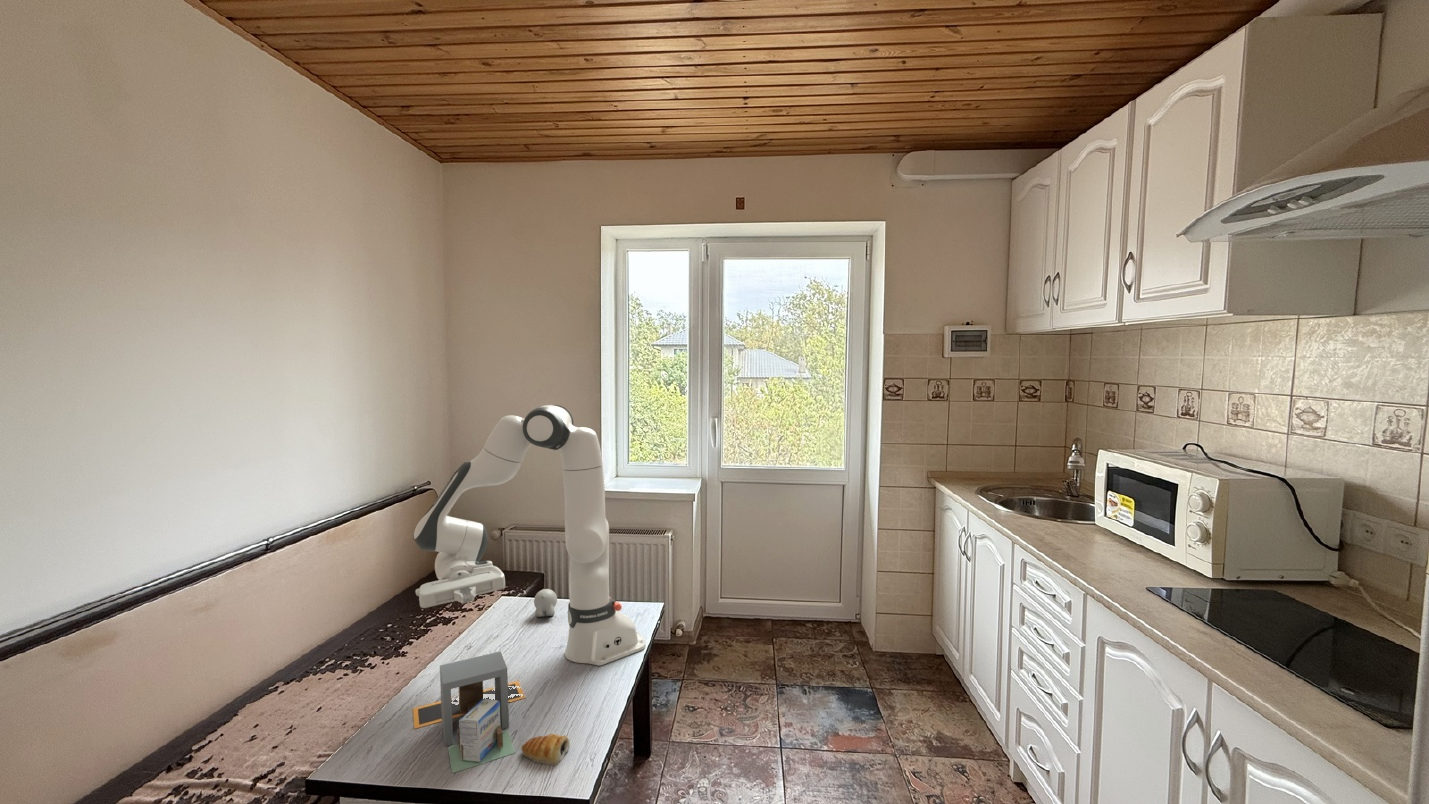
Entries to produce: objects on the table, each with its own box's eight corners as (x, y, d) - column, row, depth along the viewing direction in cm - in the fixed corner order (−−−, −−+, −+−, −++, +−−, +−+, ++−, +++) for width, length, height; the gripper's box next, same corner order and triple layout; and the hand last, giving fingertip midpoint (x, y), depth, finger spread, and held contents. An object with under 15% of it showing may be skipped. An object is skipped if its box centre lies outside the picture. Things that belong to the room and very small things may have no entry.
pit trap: (518, 681, 148) (518, 680, 148) (525, 698, 140) (525, 697, 140) (413, 708, 136) (413, 708, 136) (414, 729, 128) (414, 728, 128)
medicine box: (479, 763, 116) (478, 721, 116) (460, 760, 117) (458, 719, 117) (501, 739, 124) (500, 700, 124) (483, 736, 125) (481, 697, 125)
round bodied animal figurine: (558, 615, 195) (559, 589, 197) (555, 616, 183) (556, 587, 186) (536, 616, 193) (537, 590, 196) (531, 617, 182) (533, 589, 185)
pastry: (515, 763, 117) (514, 744, 117) (531, 742, 124) (530, 725, 124) (558, 767, 116) (558, 749, 115) (572, 746, 122) (572, 728, 122)
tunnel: (502, 706, 137) (500, 651, 136) (509, 726, 129) (507, 668, 128) (441, 723, 130) (439, 665, 130) (445, 745, 122) (442, 684, 122)
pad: (507, 730, 128) (507, 729, 128) (515, 753, 120) (515, 752, 120) (448, 747, 122) (448, 747, 122) (452, 773, 114) (452, 772, 114)
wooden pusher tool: (488, 699, 139) (487, 654, 138) (502, 746, 121) (501, 696, 120) (452, 709, 135) (450, 663, 134) (461, 759, 117) (459, 707, 116)
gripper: (413, 577, 147) (419, 598, 135) (497, 559, 158) (509, 577, 146) (415, 600, 148) (421, 623, 136) (498, 581, 158) (510, 600, 147)
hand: (468, 599), depth 141 cm, fingers closed
